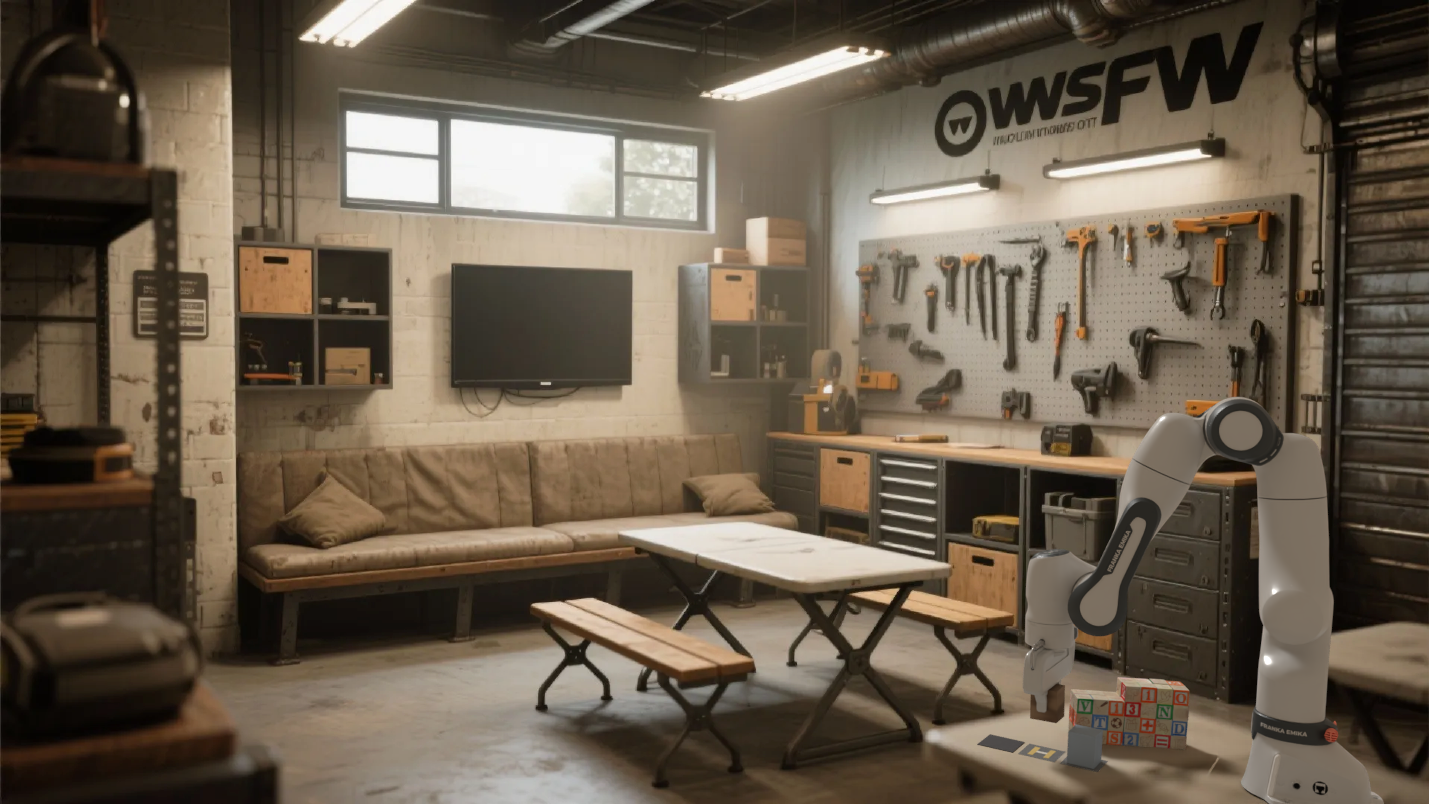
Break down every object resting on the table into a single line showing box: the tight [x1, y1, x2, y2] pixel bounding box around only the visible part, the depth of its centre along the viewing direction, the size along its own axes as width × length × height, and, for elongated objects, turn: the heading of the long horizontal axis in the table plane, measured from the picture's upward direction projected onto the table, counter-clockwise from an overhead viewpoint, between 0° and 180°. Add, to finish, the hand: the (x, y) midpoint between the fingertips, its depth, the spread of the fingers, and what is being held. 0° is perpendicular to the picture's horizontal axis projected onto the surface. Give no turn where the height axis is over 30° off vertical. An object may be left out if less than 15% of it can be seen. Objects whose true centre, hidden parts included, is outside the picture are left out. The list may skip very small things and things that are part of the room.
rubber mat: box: [976, 734, 1025, 754], centre depth 229 cm, size 7×7×1 cm
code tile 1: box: [1017, 743, 1066, 763], centre depth 224 cm, size 7×7×1 cm
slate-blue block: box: [1066, 724, 1103, 769], centre depth 220 cm, size 5×5×6 cm
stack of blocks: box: [1067, 676, 1190, 750], centre depth 232 cm, size 21×6×12 cm, turn 85°
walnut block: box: [1029, 684, 1066, 724], centre depth 223 cm, size 5×5×6 cm
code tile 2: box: [1059, 756, 1108, 773], centre depth 220 cm, size 7×7×1 cm
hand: (1047, 706), depth 223 cm, fingers closed on walnut block, 5 cm apart
